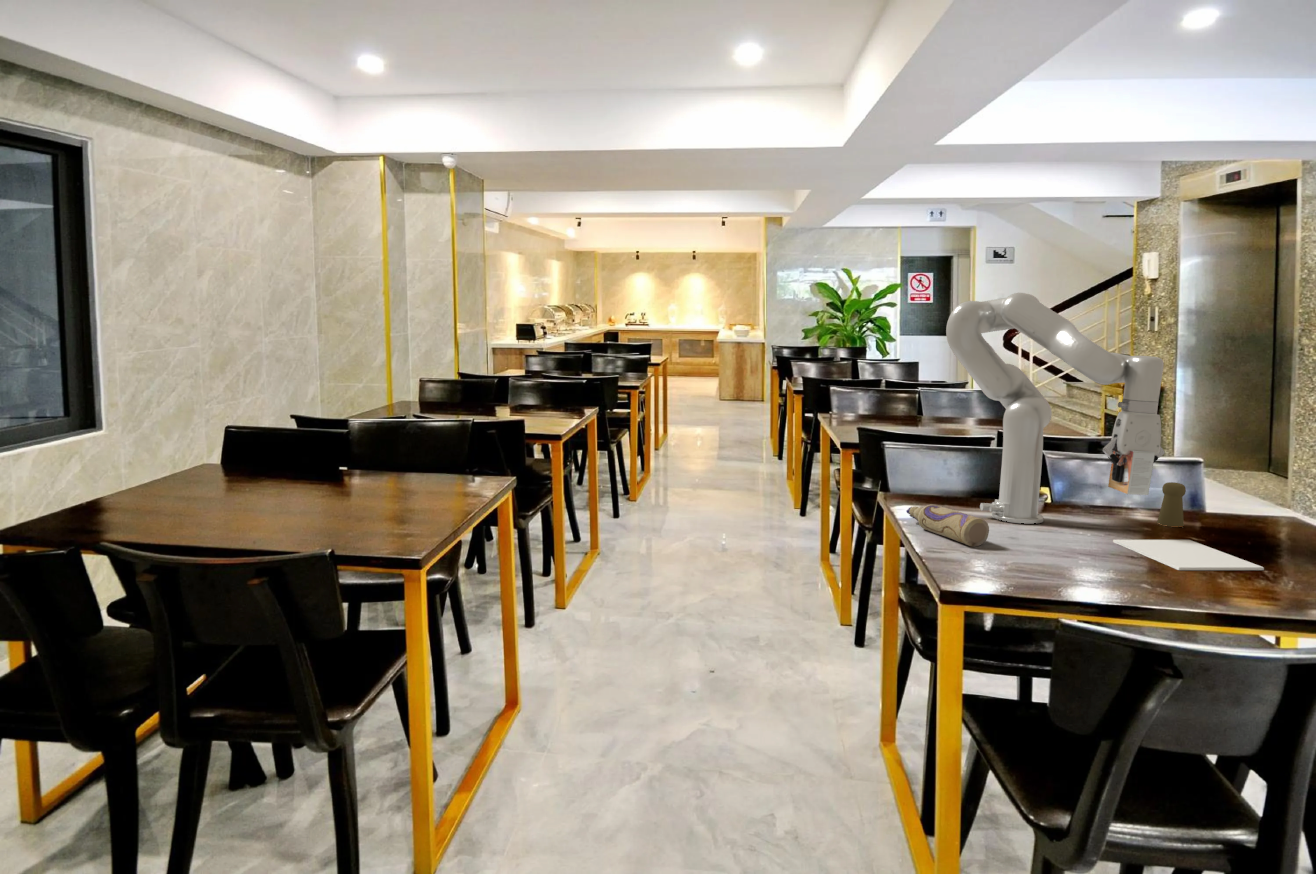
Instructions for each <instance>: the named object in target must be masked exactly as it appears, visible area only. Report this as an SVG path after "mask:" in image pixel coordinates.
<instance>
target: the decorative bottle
mask: <svg viewBox="0 0 1316 874" xmlns="http://www.w3.org/2000/svg"><path fill="white" fill-rule="evenodd" d="M906 513H907V514H908V515H909V517H911V518H913V519H915V520H916V521H917V522H918V525H919V526H920V528H922V529H923V530H926V531H928V532H931V533H933V534H936V535H938V536H939V535H940V536H942V537H945V538H947V539H950V540H954V541H956V542H958V543H961V544H963V545H966V546H969V547H974V548H975V547H980V546H981V545H982V544H984V543H985V542H986V541H987V539H988V537H989V533H990V525H989V524H988V522H987V520H985V519H983V518H981V517H976V516H973V515H970V514H967V513H964V512H961V511H959V510H954V509H951V508H947V507H944V506H941V505H938V504H932V503H931V504H928V505H925V506H924V507H923V506H920V507H919V506H910V507H908V508H907V510H906Z"/></svg>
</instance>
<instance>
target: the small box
mask: <svg viewBox="0 0 1316 874" xmlns="http://www.w3.org/2000/svg"><path fill="white" fill-rule="evenodd" d="M1112 452H1113V453H1114V454H1115V452H1114V451H1112ZM1154 456H1155V453H1154V452H1150V451H1130V454H1129V455H1126V457H1125V460H1124V462H1123V464H1122V466H1124V474H1123V481H1122V482H1117V481H1114V480H1112V471H1113V464H1112V463H1111V464H1110V465H1111V466H1110V470H1109V471H1110V472H1109V478H1108V479H1109V480H1108V483H1107V484H1108V488H1111V489H1114V490H1116V491H1118V492H1121V493H1123V494H1124V495H1139V496H1149V494H1150V493H1149V492H1150V489H1151V488H1150V487H1151V479H1152V476H1153V468H1154V463H1155V462H1154Z"/></svg>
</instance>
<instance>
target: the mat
mask: <svg viewBox="0 0 1316 874" xmlns="http://www.w3.org/2000/svg"><path fill="white" fill-rule="evenodd" d="M1112 542H1113V543H1114V544H1116V545H1118V546H1120V547H1123V548H1126V549H1129V550H1130V551H1133V552H1135V553H1137V554H1140V555H1141V556H1145V557H1147V558H1149V559H1152V560H1154V561H1156V562H1158V563H1161V564H1164V565H1165V566H1168V567H1170V568H1172V569H1174V570H1177V571H1264V570H1265V567H1263V566H1261V565H1259V564H1255V563H1253V562H1250V561H1248V560H1246V559H1245V560H1244V559H1243V558H1239V557H1238V556H1234V555H1232V554H1229V553H1226V552H1224V551H1221V550H1218V549H1216V548H1212V547H1210V546H1207V545H1204V544H1202V543H1199V542H1197V541H1193V540H1191V539H1113V540H1112Z"/></svg>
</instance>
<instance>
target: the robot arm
mask: <svg viewBox="0 0 1316 874" xmlns="http://www.w3.org/2000/svg"><path fill="white" fill-rule="evenodd" d="M945 329H946V330H945V333H946V334H945V335H946V340H947V344H948V346H949V348H950V350H951V352H952V353H953V355H954V357H956V359H957V360H958V361H959V362H960V363H961V365H962V367H963V368H964V369H965V370H966V372H967V373H968V374H969V376H970V377H971V378H972V380H973V381H974V382H975V384H976V385H977V386H978V387H979V389H980V390H981V391H982V392H983V394H984V396H986V397H987V398H988V399H990V400H993V401H998V402H1000V404H1001V405H1002V407H1004V408H1005V411H1004V413H1003V417H1002V436H1003V437H1002V452H1001V453H1002V455H1001V469H1000V479H999V483H1000V484H999V493H998V494H999V496H998V499H995V498H994V501H992V502H991V503H988V502H986V503H985V502H980V505H979V509H980V511H987V512H988V511H989V512H991V515H992V516H991V517H992V518H993V519H995V520H998V519H999V521H1001V520H1002V522H1006V521H1007V523H1014V524H1021V523H1024V524H1023V525H1025V524H1027V525H1030V524H1031V525H1034V523H1036V524H1040V523H1043V522H1045V521H1044V520H1045V517H1044V516H1043V515H1042V514H1040V513H1039V501H1040V489H1041V487H1040V486H1041V476H1042V465H1043V454H1044V453H1043V452H1044V451H1043V449H1044V428H1046V427H1047V426H1048V425H1049V424H1050V422H1051V419H1052V415H1053V411H1052V407H1051V405H1050V404H1049V401H1048V400H1047V399H1046V398H1045V396H1044V395H1043V393H1041V391H1040V390H1039V389H1038V388H1037V387H1036V386H1035V384H1034V383H1033V382H1032V380H1031V379H1030V378H1029V377H1028V376H1027V375H1026V374H1025V372H1024V371H1023V370H1022V369H1021V368H1019V367H1018V366H1017V365H1015V364H1013V363H1012V364H1011V363H1007V362H1005V361H1004V360H1003V359H1002V358H1001V357H1000V356H999V354H997V352H996V351H995V349H994V348H993V347H992V346H991V344H990V343H988V341H987V340H986V339H985V338H984V337H983V335H982V334H985V333H992V332H997V331H998V332H999V331H1007V330H1013V329H1015V330H1017V331H1018V332H1019V333H1021V334H1023V335H1025V336H1026V337H1028V338H1029V339H1031V340H1032V341H1033V342H1035V343H1036V344H1038V345H1039V346H1041V347H1043V348H1045V350H1046V351H1048V352H1050V353H1051V354H1053V355H1054V356H1056V357H1057V358H1059V360H1061V361H1062V362H1064V363H1065V364H1067V365H1068V366H1070V367H1071V368H1073V369H1074V370H1076V371H1077V372H1079V374H1081V375H1083V376H1085V377H1087V379H1089V380H1090V381H1093V382H1094V383H1097V384H1099V385H1104V386H1105V385H1106V386H1107V385H1113V384H1119V383H1122V384H1123V383H1124V386H1123V387H1124V390H1123V396H1122V401H1119V402H1118V403H1117V408H1120V410H1121V411H1118V414H1117V416H1116V418H1115V422H1114V426H1113V429H1112V433H1111V440H1110V441H1109V442H1108V443H1107V444H1106V445H1105V446H1104V447H1102V452H1103V453H1104V454H1105V456H1107V458H1108V459H1109V460H1110V462H1111V464H1113V471H1112V480H1114V481H1117V482H1122V481H1123V474H1124V466H1122V464H1123V462H1124V460H1125V457H1126V455H1129V454H1130V451H1150V452H1154V453H1155V456H1154V463H1156V462H1157V461H1158V459H1160V458H1161V457H1163V456H1164V454H1165V450H1164V448H1163V447H1162V446H1161V442H1162V439H1161V438H1162V421H1161V415H1160V414H1158V406H1159V399H1160V393H1161V387H1162V381H1163V380H1162V379H1163V372H1164V360H1163V359H1162V358H1161V357H1158V356H1151V355H1128V354H1123V353H1118V352H1110V351H1108V350H1106V349H1105V348H1104V347H1102V346H1100V345H1099V344H1097V343H1095V342H1094V341H1092V339H1089V338H1088V337H1087V336H1085V335H1084V333H1083V334H1082V332H1081V331H1079V330H1078V329H1077V327H1076V325H1074V323H1073V322H1071V321H1070V320H1069V319H1067V318H1065V317H1063V316H1062V315H1061V314H1059V313H1058V312H1056V311H1053V309H1051V308H1049V307H1048V306H1046V305H1045V304H1044V303H1042V302H1040V300H1039V299H1038V298H1037V297H1036V296H1034V295H1032V294H1029V293H1025V292H1014V293H1012V294H1010V295H1008V296H1007V297H1003V298H997V299H991V300H984V301H983V300H982V301H978V300H968V301H964V302H961V303H960V304H958V305H956V306H955V307H954V309H953V310H951V313H950V314H949V317H948V320H947V323H946V328H945ZM1113 451H1114V452H1115V454H1114V453H1113Z"/></svg>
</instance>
